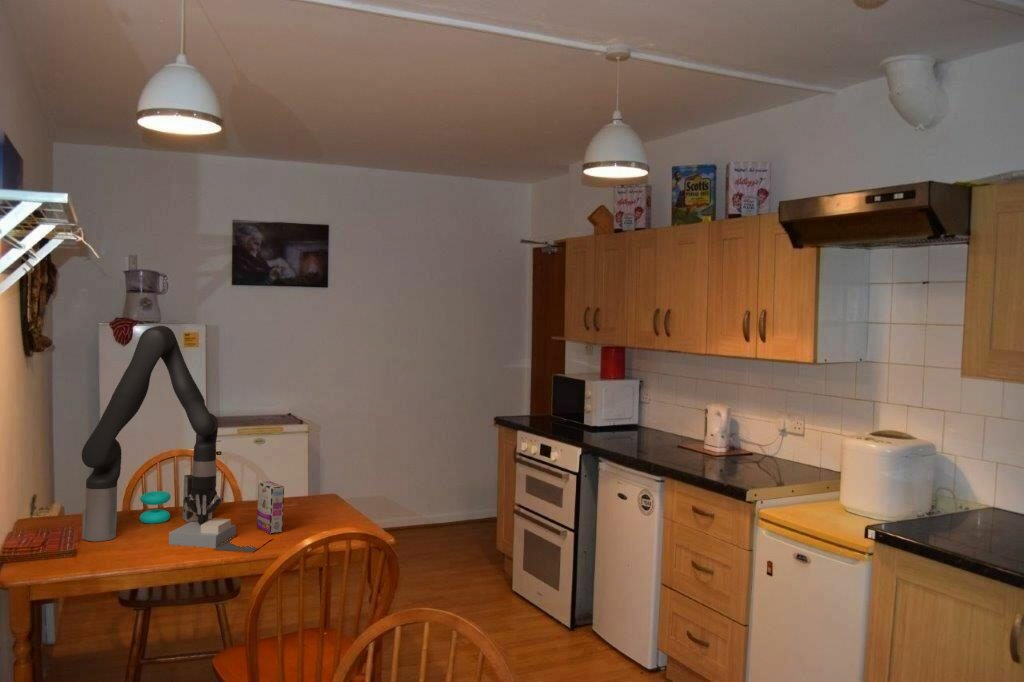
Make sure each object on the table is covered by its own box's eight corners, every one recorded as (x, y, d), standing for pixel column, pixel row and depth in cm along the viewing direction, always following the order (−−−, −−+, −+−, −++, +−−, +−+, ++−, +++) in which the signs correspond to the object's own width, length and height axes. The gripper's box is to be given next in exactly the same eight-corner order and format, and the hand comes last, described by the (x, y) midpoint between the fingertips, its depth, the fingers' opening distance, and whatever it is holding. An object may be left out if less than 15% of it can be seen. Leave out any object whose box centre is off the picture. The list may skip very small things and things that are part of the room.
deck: (168, 544, 258) (169, 532, 258) (190, 533, 272) (190, 521, 272) (215, 548, 256) (215, 535, 256) (235, 536, 270) (235, 524, 270)
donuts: (166, 496, 282) (136, 496, 280) (165, 524, 282) (136, 524, 280) (173, 490, 291) (145, 490, 290) (173, 517, 292) (144, 517, 290)
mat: (214, 550, 254) (214, 549, 254) (236, 536, 270) (236, 535, 270) (252, 552, 253) (253, 551, 253) (273, 539, 269) (273, 538, 269)
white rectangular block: (200, 532, 259) (200, 524, 259) (213, 525, 268) (213, 518, 268) (218, 533, 259) (218, 526, 259) (230, 526, 268) (230, 519, 268)
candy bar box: (283, 532, 277) (285, 486, 276) (270, 535, 274) (271, 487, 273) (269, 525, 285) (270, 480, 285) (256, 527, 282) (257, 482, 281)
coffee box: (186, 522, 285) (187, 478, 285) (182, 518, 291) (183, 474, 290) (212, 519, 291) (213, 475, 290) (207, 515, 296) (209, 472, 295)
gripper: (179, 474, 261) (178, 526, 261) (218, 476, 259) (216, 529, 260) (191, 470, 268) (189, 521, 268) (228, 472, 267) (227, 523, 267)
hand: (203, 525), depth 264 cm, fingers closed
